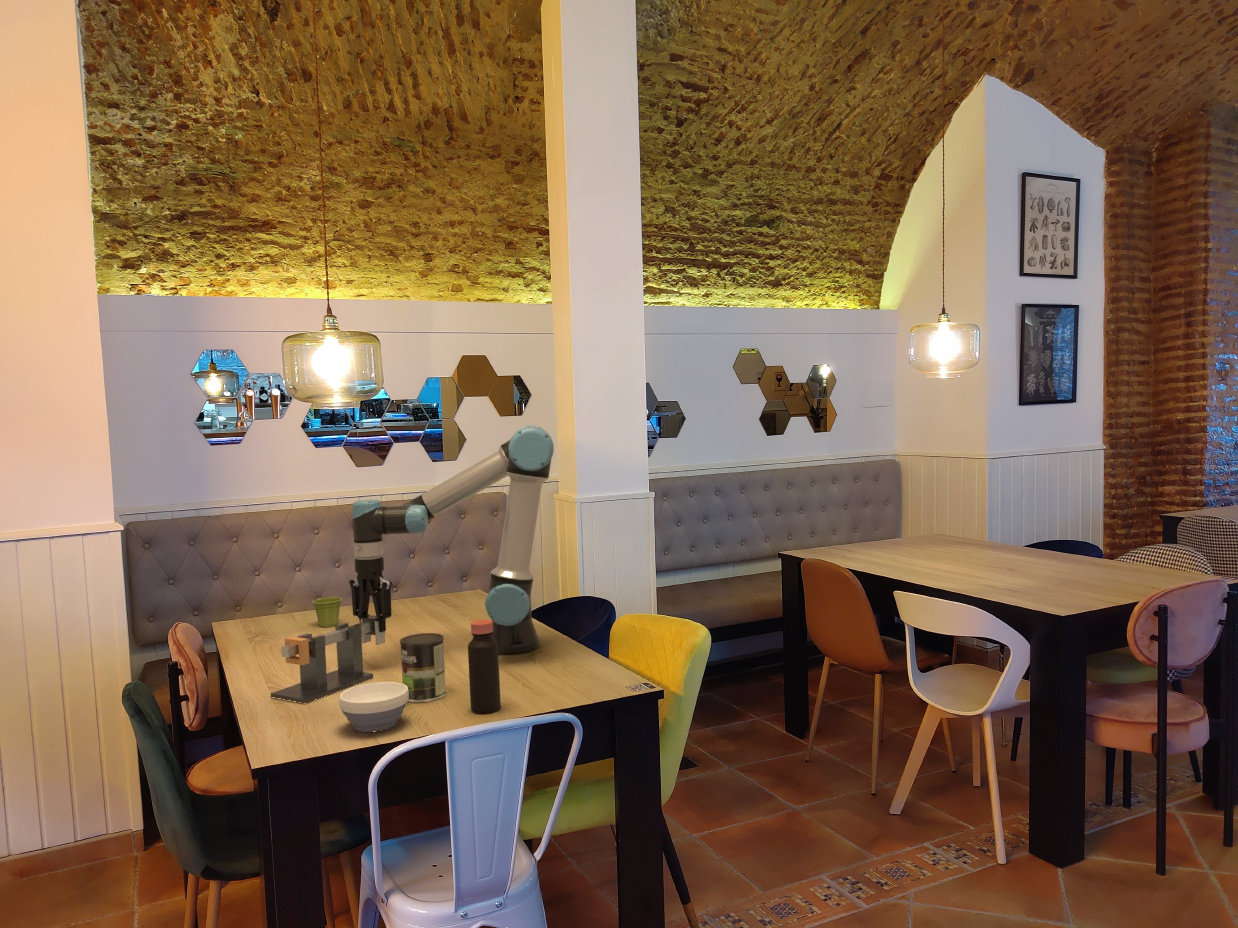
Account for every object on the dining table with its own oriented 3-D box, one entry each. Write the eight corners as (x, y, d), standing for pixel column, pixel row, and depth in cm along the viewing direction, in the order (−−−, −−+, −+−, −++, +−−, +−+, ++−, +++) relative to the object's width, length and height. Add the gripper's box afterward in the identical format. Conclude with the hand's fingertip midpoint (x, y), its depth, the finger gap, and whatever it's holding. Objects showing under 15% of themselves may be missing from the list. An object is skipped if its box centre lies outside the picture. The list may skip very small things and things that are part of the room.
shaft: (383, 632, 226) (382, 616, 226) (291, 661, 200) (290, 643, 199) (371, 631, 228) (370, 615, 228) (279, 660, 202) (278, 642, 202)
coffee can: (417, 706, 194) (414, 646, 193) (394, 696, 201) (391, 639, 201) (455, 694, 201) (452, 636, 200) (431, 686, 208) (429, 630, 208)
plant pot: (312, 624, 283) (311, 599, 283) (341, 620, 287) (340, 595, 286) (314, 630, 274) (313, 604, 274) (344, 626, 278) (343, 600, 278)
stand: (373, 678, 218) (370, 624, 217) (305, 704, 198) (301, 646, 198) (340, 673, 223) (337, 621, 223) (271, 697, 204) (267, 641, 203)
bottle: (479, 716, 185) (474, 627, 184) (465, 708, 190) (461, 622, 190) (506, 709, 189) (502, 622, 188) (492, 702, 194) (488, 617, 194)
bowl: (423, 723, 182) (421, 688, 182) (364, 743, 171) (362, 707, 171) (386, 710, 192) (384, 677, 192) (328, 728, 181) (326, 694, 181)
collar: (309, 662, 203) (308, 638, 203) (302, 665, 202) (301, 640, 201) (292, 660, 206) (291, 636, 206) (285, 662, 204) (284, 638, 204)
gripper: (335, 558, 226) (339, 643, 227) (382, 560, 217) (387, 649, 218) (356, 553, 232) (360, 636, 233) (403, 556, 224) (407, 642, 225)
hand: (373, 642), depth 226 cm, fingers closed on shaft, 4 cm apart
